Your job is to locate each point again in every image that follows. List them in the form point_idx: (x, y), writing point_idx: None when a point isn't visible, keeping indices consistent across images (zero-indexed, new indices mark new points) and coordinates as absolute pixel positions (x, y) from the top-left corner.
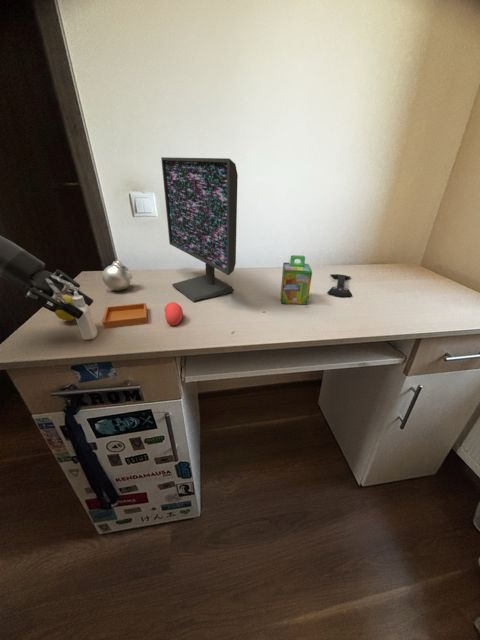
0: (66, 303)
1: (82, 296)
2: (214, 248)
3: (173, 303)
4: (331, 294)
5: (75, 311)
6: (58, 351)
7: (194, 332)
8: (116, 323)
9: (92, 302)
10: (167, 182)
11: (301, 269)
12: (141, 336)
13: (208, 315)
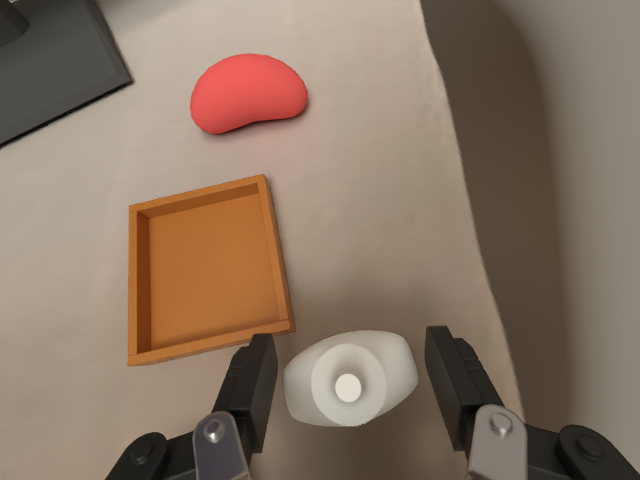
0: (500, 406)
1: (335, 347)
2: None
3: (228, 63)
4: None
5: (470, 356)
6: None
7: (343, 54)
8: (283, 279)
9: (272, 335)
10: None
11: None
12: (363, 183)
13: (238, 37)
